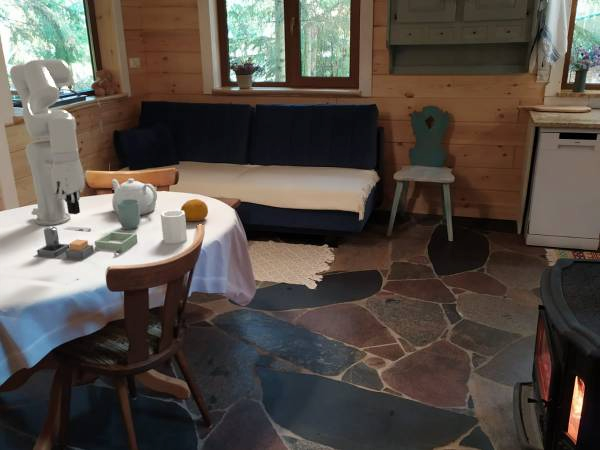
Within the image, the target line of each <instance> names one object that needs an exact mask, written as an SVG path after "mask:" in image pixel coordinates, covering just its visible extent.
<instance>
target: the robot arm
mask: <svg viewBox="0 0 600 450" xmlns="http://www.w3.org/2000/svg"><path fill="white" fill-rule="evenodd" d="M9 75H10V80H11V82H12V85H13V87H14V89H15V91H16V92H17V93H18V96H19V97H20V101H21V105H22V118H23V120H24V124H25V128H26V131H27V133H28V135H29V136H30V137H31V138H34V139H38V140H34V141H31V142H29V143H28V144H27V145H26V147H25V154H26V157H27V158H26V159H27V161H28V164H29V167H30V172H31V175H32V179H33V182H32V183H33V187H34V192H35V193H34V194H35V198H36V204H37V208H34V207H33V209H32V210H31V215H35V216H36V217H35V223H36V224H37V225H41V226H53V225H54V226H55V225H60V224H63V223H66V222H68V221H70V220H71V215H78V214H80V213H81V209H80V202H79V201H80V194H81V193H82V192H83V191H84V188H85V186H86V184H85V183H86V181H85V175H84V170H83V166H82V162H81V160H80V155H79V148H78V139H77V132H76V130H77V122H76V118H75V117H74V116H73V115H72V113H70V112H68V111H67V110H65V109H59V108H58V109H50V108H49V107H51V106H53V105H54V104H56V103H57V102H58V101H59V99H60V91H59V88H63V87H66V86H68V85H69V84H70V83H71V81H72V73H71V69H70V66H69V64H68V63H67V62H66V61H65V60H63V59H59V58H58V59H57V58H56V59H33V60H30V61H28V62H26V63H22V64H17V65H14V66H12V67H11V68H10V70H9ZM65 203H66V205H67V206H66V207H67V212H68V213H66V209H65V208H66V207H65Z"/></svg>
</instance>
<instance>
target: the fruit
mask: <svg viewBox="0 0 600 450" xmlns="http://www.w3.org/2000/svg"><path fill="white" fill-rule="evenodd" d="M180 210H182V211H184V212H185V219H186V221H188V222H200V221H202V220H204V219H206V218H207V216H208V213H209V209H208V205H207V203H205V201H203V200H201V199H198V198H197V199H196V198H194V199H193V198H192V199H190V200H189V199H188V200H187V201H186V202H184V203H183V204H182V206H181V207H180Z"/></svg>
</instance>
